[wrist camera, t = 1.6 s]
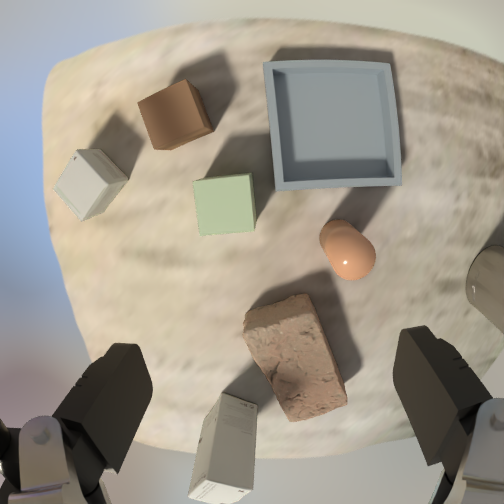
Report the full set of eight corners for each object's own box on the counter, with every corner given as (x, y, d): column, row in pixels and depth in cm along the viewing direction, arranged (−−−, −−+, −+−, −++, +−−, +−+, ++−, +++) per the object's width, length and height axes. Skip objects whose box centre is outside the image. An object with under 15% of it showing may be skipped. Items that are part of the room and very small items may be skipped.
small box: (75, 183, 32) (50, 189, 27) (100, 147, 30) (76, 147, 25) (103, 215, 32) (81, 224, 28) (130, 178, 31) (109, 183, 26)
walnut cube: (198, 90, 28) (185, 78, 23) (214, 131, 29) (204, 126, 24) (156, 109, 29) (137, 102, 24) (171, 150, 30) (154, 149, 25)
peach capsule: (355, 218, 31) (376, 234, 24) (355, 253, 32) (374, 278, 25) (318, 220, 31) (331, 237, 25) (320, 256, 32) (332, 282, 26)
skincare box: (222, 390, 39) (204, 477, 25) (260, 404, 40) (255, 490, 25) (202, 421, 42) (183, 498, 27) (237, 433, 42) (227, 510, 28)
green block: (252, 172, 30) (248, 175, 25) (256, 220, 32) (254, 231, 27) (204, 177, 31) (192, 181, 26) (210, 224, 32) (199, 236, 27)
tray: (380, 70, 26) (389, 63, 23) (390, 182, 29) (401, 185, 27) (263, 70, 27) (262, 62, 24) (275, 188, 30) (275, 191, 28)
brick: (240, 312, 35) (236, 334, 31) (307, 287, 34) (313, 307, 29) (289, 402, 40) (290, 425, 35) (344, 384, 38) (351, 407, 34)
